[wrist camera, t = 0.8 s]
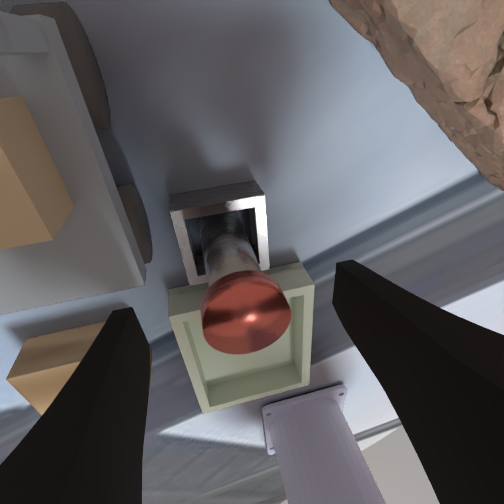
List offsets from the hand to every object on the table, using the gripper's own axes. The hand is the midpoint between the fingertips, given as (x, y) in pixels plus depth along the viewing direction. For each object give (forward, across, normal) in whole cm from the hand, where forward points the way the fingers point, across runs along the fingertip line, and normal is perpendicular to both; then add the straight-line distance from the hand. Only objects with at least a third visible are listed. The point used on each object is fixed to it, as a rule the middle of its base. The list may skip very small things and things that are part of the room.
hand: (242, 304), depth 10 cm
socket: (+6, 0, 0) cm, 6 cm away
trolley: (+6, +6, -4) cm, 10 cm away
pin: (+6, 0, 0) cm, 6 cm away
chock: (+6, +9, +7) cm, 13 cm away
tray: (+6, 0, +9) cm, 10 cm away
